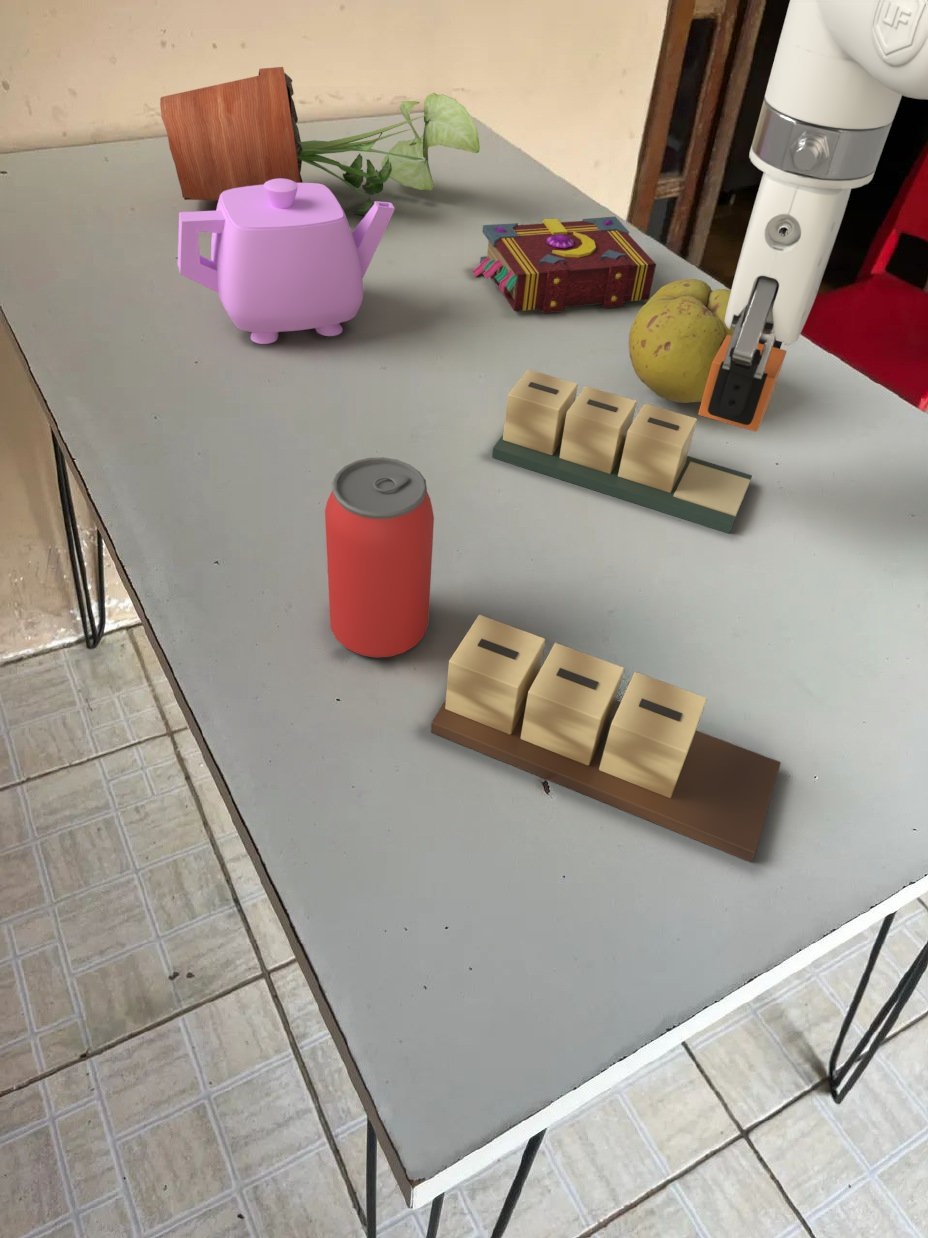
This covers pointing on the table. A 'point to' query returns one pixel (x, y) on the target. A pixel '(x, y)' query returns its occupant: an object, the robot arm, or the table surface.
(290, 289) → the teapot
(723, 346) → the orange slotted cube
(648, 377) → the fruit
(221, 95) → the potted plant
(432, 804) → the table surface
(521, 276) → the decorative book
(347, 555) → the beer can
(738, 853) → the slotted cubes on board
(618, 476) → the slotted cube rack
